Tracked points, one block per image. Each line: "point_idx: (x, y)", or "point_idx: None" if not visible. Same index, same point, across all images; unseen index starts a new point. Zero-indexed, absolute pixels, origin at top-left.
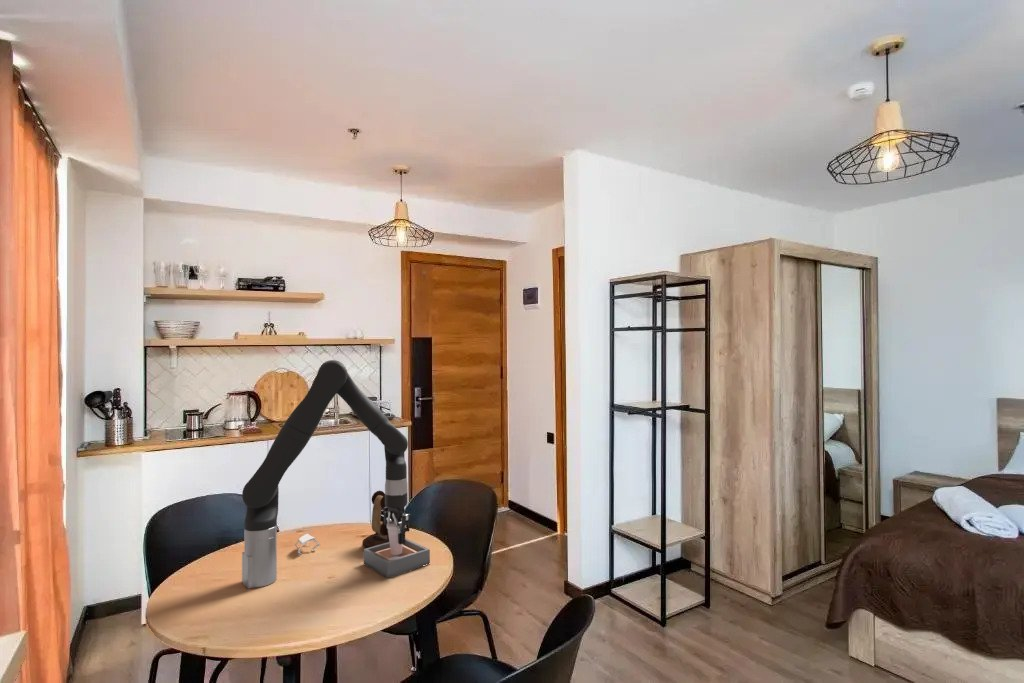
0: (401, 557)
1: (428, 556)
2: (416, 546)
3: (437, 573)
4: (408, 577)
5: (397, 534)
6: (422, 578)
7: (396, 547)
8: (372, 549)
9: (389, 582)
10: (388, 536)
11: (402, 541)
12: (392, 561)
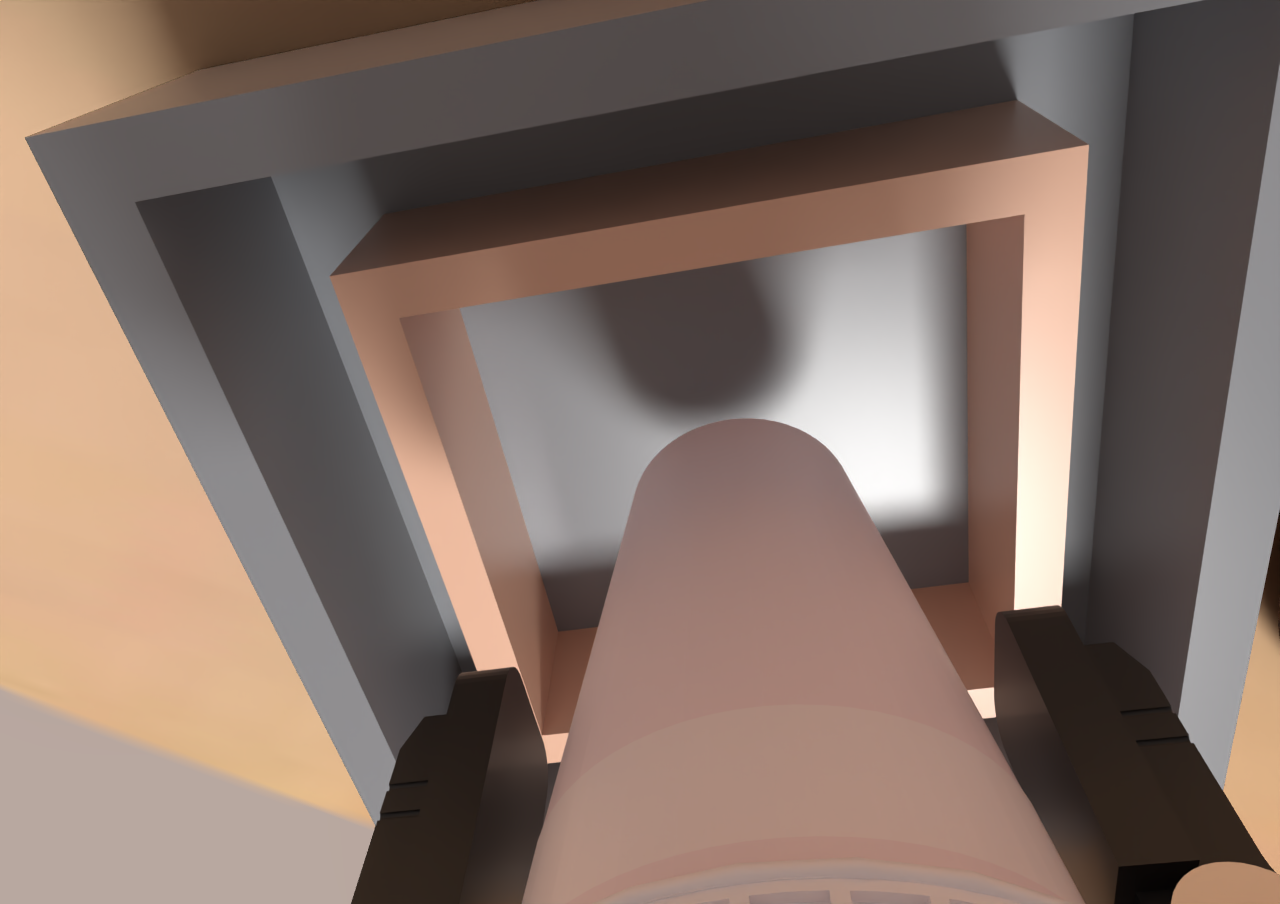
0: (237, 485)
1: None
2: None
3: (138, 687)
4: (129, 371)
5: (533, 859)
6: (32, 507)
7: (613, 573)
8: (1241, 133)
9: (12, 35)
10: (1050, 648)
11: (407, 767)
12: (95, 263)
